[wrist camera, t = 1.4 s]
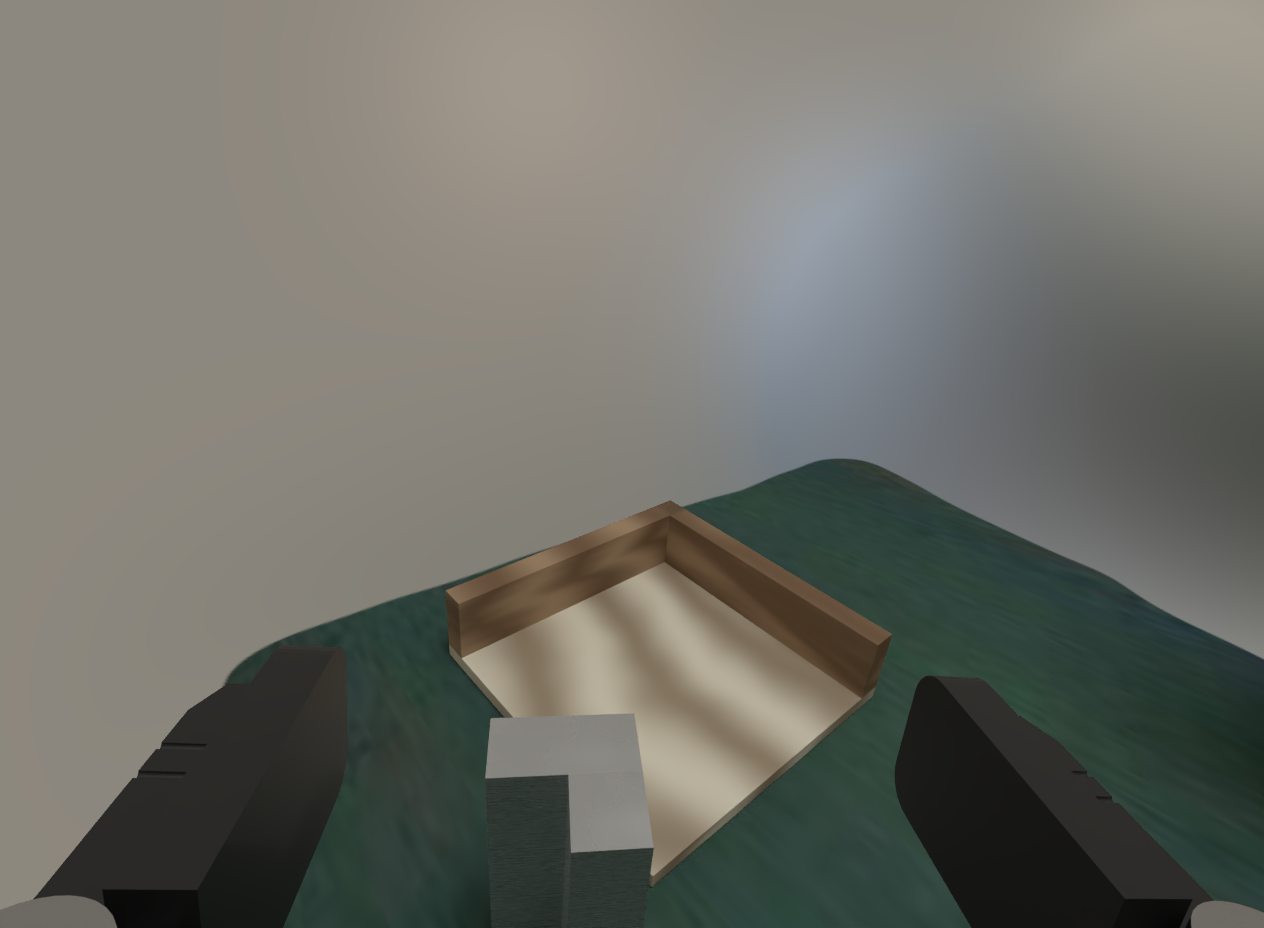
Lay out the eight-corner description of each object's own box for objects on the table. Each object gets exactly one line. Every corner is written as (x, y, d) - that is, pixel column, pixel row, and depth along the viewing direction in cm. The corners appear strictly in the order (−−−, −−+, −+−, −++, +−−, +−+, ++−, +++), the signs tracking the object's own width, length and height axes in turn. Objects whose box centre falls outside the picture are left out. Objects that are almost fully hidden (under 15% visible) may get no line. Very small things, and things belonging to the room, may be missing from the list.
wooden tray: (664, 554, 53) (670, 500, 50) (872, 696, 41) (892, 634, 39) (449, 654, 42) (445, 590, 39) (651, 887, 30) (661, 815, 28)
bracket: (615, 899, 29) (634, 713, 24) (627, 1038, 25) (654, 847, 20) (496, 907, 29) (490, 718, 24) (487, 1052, 24) (478, 858, 19)
